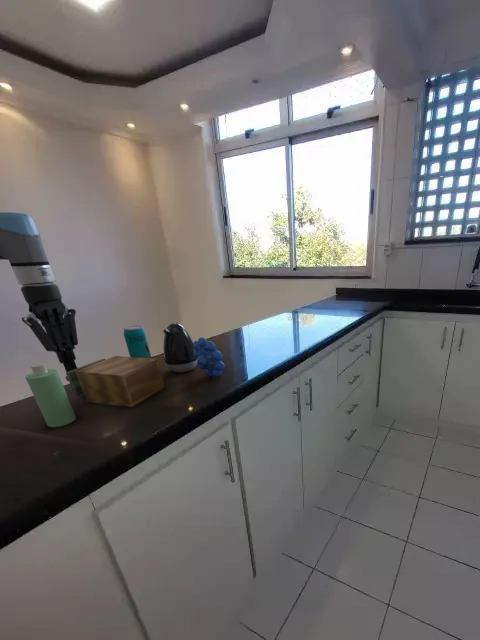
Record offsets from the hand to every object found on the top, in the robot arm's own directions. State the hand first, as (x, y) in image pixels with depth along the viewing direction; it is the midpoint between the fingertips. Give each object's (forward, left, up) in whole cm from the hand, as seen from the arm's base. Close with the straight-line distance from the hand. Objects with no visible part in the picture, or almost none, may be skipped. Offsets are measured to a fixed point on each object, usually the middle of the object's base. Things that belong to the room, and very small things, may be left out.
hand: (72, 372), depth 88 cm
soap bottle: (+14, -16, -5) cm, 22 cm away
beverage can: (+12, +14, -5) cm, 19 cm away
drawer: (+10, 0, -4) cm, 11 cm away
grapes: (+34, +16, -5) cm, 38 cm away
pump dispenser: (+22, +20, -5) cm, 30 cm away
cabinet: (+18, 0, -5) cm, 18 cm away
